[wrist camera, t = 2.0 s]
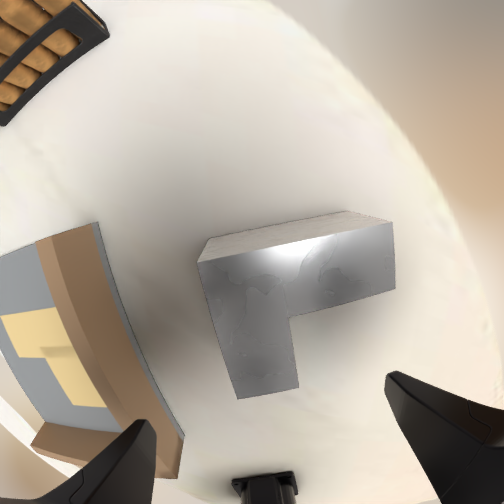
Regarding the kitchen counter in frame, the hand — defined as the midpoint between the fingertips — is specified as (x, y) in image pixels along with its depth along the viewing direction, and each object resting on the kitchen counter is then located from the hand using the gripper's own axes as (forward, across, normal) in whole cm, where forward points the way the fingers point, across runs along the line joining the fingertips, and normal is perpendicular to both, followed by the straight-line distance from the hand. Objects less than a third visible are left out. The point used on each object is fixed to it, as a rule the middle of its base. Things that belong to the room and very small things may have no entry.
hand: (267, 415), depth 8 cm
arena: (+8, +16, +1) cm, 18 cm away
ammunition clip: (+8, +11, -20) cm, 24 cm away
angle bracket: (+8, -3, -2) cm, 9 cm away
